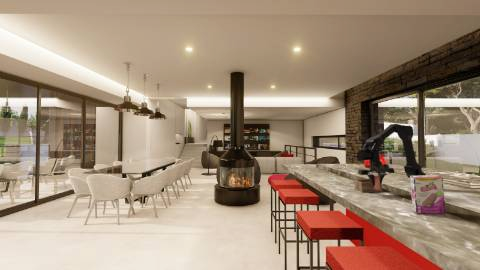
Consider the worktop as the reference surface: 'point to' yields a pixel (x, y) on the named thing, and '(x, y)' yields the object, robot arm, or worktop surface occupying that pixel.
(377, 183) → the peg
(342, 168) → the worktop surface
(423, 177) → the candy bar box
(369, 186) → the bored tray
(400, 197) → the worktop surface
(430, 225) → the worktop surface
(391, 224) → the worktop surface
